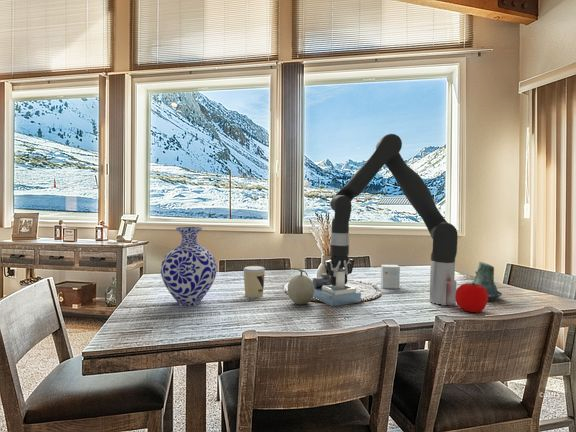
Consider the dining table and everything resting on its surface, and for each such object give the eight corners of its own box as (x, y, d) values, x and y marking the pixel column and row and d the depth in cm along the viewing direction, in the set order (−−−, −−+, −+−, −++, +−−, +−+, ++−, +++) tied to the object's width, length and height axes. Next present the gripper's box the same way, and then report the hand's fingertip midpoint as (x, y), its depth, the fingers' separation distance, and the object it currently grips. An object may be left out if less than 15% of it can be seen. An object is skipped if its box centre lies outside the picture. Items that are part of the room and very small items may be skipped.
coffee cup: (261, 298, 159) (261, 270, 158) (240, 297, 161) (240, 269, 160) (267, 293, 168) (267, 266, 167) (247, 291, 170) (247, 265, 169)
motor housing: (360, 302, 155) (361, 279, 155) (332, 306, 149) (332, 282, 148) (335, 292, 171) (335, 271, 171) (308, 295, 165) (308, 274, 164)
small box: (397, 286, 185) (398, 264, 184) (399, 288, 179) (400, 266, 179) (380, 285, 186) (381, 264, 185) (382, 288, 180) (382, 266, 180)
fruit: (318, 302, 155) (319, 265, 154) (305, 309, 145) (306, 270, 144) (296, 298, 160) (297, 263, 159) (282, 304, 150) (283, 267, 149)
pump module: (346, 288, 156) (347, 269, 155) (337, 289, 153) (337, 270, 153) (340, 286, 160) (340, 267, 160) (330, 287, 158) (331, 268, 157)
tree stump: (453, 290, 181) (465, 254, 178) (499, 307, 169) (512, 269, 167) (444, 296, 166) (456, 257, 163) (494, 315, 154) (508, 274, 152)
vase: (159, 312, 138) (159, 230, 137) (162, 297, 159) (162, 226, 157) (218, 308, 144) (219, 229, 142) (214, 294, 164) (214, 225, 163)
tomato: (469, 316, 138) (470, 286, 137) (447, 307, 149) (448, 279, 148) (495, 314, 141) (497, 284, 141) (472, 305, 152) (473, 278, 152)
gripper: (330, 245, 149) (329, 288, 150) (359, 244, 156) (358, 285, 157) (320, 243, 156) (319, 284, 157) (348, 242, 162) (347, 281, 163)
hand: (338, 284), depth 157 cm, fingers closed on pump module, 4 cm apart
